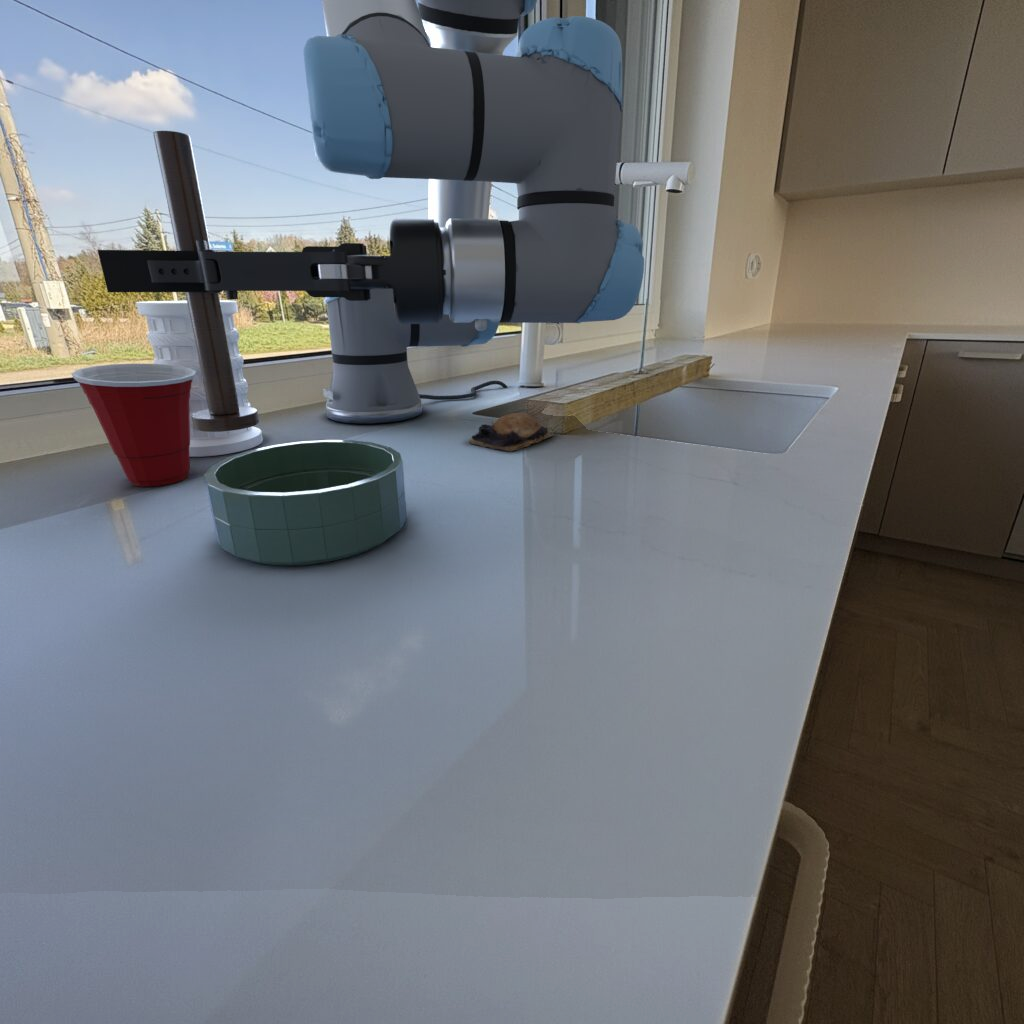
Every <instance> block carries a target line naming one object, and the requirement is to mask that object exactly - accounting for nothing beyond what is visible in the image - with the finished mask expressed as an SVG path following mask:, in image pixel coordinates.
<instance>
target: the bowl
mask: <svg viewBox="0 0 1024 1024" xmlns="http://www.w3.org/2000/svg"><path fill="white" fill-rule="evenodd" d="M403 463H404V461H403V458H402V455H401V453H400V452H398V451H397V450H395V449H394V448H392V447H390V446H387V445H383V444H379V443H376V442H370V441H360V440H353V439H352V440H351V439H323V440H321V439H320V440H302V441H295V442H294V441H293V442H287V443H279V444H274V445H268V446H263V447H259V448H253V449H248V450H245V451H242V452H241V453H237V454H234V455H231V456H228V457H225V458H224V459H222V460H219V461H218V462H216V463H214V464H213V465H210V467H208V469H207V471H206V472H205V473H204V474H203V481H204V484H205V491H206V495H207V500H208V504H209V509H210V513H211V518H212V522H213V527H214V531H215V536H216V540H217V542H218V544H219V547H220V548H221V549H222V550H223V551H225V552H227V553H229V554H231V555H232V556H234V557H237V558H240V559H244V560H247V561H250V562H253V563H257V564H263V565H272V566H305V565H306V566H307V565H315V564H316V565H317V564H322V563H328V562H334V561H338V560H343V559H346V558H350V557H353V556H357V555H359V554H362V553H365V552H368V551H369V550H372V549H374V548H375V547H378V546H379V545H381V544H383V543H384V542H386V541H387V540H388V539H390V538H391V537H392V536H394V535H395V534H396V533H398V532H399V531H401V530H402V528H403V526H404V524H405V522H406V521H407V520H408V519H407V516H408V515H407V503H406V502H407V501H406V491H405V476H404V464H403Z"/></svg>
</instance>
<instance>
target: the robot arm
mask: <svg viewBox="0 0 1024 1024" xmlns="http://www.w3.org/2000/svg"><path fill="white" fill-rule="evenodd" d="M537 3H538V0H417V1H416V0H321V7H322V12H323V19H324V25H325V26H324V27H325V32H326V35H315V36H313V37H309V38H308V39H307V40H306V42H305V44H304V47H303V61H304V62H303V63H304V70H305V80H306V88H307V89H306V90H307V97H308V99H307V100H308V107H309V116H310V117H309V118H310V126H311V135H312V141H313V150H314V155H315V158H316V160H317V162H318V163H319V165H320V166H322V168H324V169H325V170H326V171H329V172H331V173H337V174H345V175H354V176H362V177H365V178H368V179H370V180H381V179H383V178H389V179H415V180H428V213H427V214H428V216H427V217H428V218H405V217H404V218H393V219H392V220H391V221H390V223H389V225H388V236H389V238H388V239H389V254H390V255H381V254H380V255H375V254H374V255H373V254H368V251H367V245H365V244H364V243H361V242H343V243H341V244H339V245H338V246H325V245H323V246H321V245H315V246H314V245H307V246H304V247H303V248H302V250H301V251H215V250H213V249H211V248H210V249H208V244H207V241H204V240H196V246H197V251H177V250H167V249H166V250H165V249H163V250H162V249H161V250H159V249H157V250H153V249H152V250H151V249H150V250H149V249H138V250H137V249H97V250H96V251H97V254H98V255H97V256H98V259H99V261H100V266H101V270H102V274H103V278H104V282H105V286H106V290H107V293H185V292H212V293H219V294H221V293H222V292H225V298H226V301H234V300H239V295H238V292H306V294H307V295H308V296H310V298H324V300H323V301H324V304H326V310H327V319H328V320H327V321H328V329H329V340H330V349H331V358H332V373H331V378H330V383H329V388H328V390H327V389H325V388H323V389H322V391H323V397H324V398H327V399H326V403H325V409H326V416H327V418H328V419H329V420H331V421H335V422H338V423H339V422H340V423H345V424H346V423H347V424H384V423H393V422H399V421H400V422H401V421H405V420H410V419H413V418H416V417H418V416H419V415H421V414H422V412H423V408H422V407H423V406H422V405H423V404H422V399H424V400H433V401H444V400H445V401H446V400H447V401H449V400H463V399H470V398H474V397H475V396H477V393H478V392H477V391H478V390H481V389H483V388H486V387H488V386H492V385H498V386H501V387H502V388H503V389H508V387H509V386H508V385H507V384H506V383H504V382H503V381H500V380H490V381H486V382H483V383H481V384H478V385H475V386H473V387H471V388H470V392H471V393H470V392H469V393H464V394H463V393H462V394H454V395H453V394H452V395H432V394H422V393H420V394H419V391H418V389H417V386H416V383H415V380H414V378H413V375H412V372H411V370H410V368H409V363H408V348H418V347H420V348H421V347H422V348H423V347H425V348H426V347H455V346H456V347H457V346H458V347H459V346H460V347H462V348H463V347H466V348H467V347H469V346H477V345H483V344H484V345H485V344H486V343H488V342H489V341H491V340H492V339H493V338H494V337H495V335H496V333H497V331H498V329H499V326H500V323H505V324H506V323H508V324H509V323H511V324H512V323H514V324H515V323H517V324H524V323H525V324H530V323H531V324H582V323H590V322H605V321H606V322H607V321H616V320H619V319H621V318H624V317H625V316H626V315H628V313H630V312H631V311H632V309H633V308H634V306H635V304H636V302H637V300H638V298H639V296H640V292H641V288H642V284H643V279H644V271H645V257H644V256H643V249H644V242H643V238H642V235H641V233H640V231H639V229H638V227H636V226H635V224H633V223H630V222H623V221H622V220H621V219H616V207H615V188H616V176H617V164H618V156H619V155H618V154H619V153H618V152H619V143H620V134H621V133H620V130H621V121H622V115H623V114H622V113H623V105H624V103H623V50H622V49H623V48H622V43H621V40H620V38H619V37H620V36H618V34H617V32H616V31H615V30H614V29H613V28H612V27H611V26H610V25H608V24H607V23H606V22H603V21H602V20H599V19H595V18H592V17H588V16H581V15H571V16H569V17H563V18H562V17H558V16H553V17H549V18H545V19H541V20H539V21H537V22H535V23H533V24H531V25H529V26H528V27H527V28H526V29H525V30H524V31H523V32H522V34H521V35H520V37H519V40H518V45H517V52H516V54H515V56H514V55H506V54H505V55H504V52H505V50H506V48H508V46H509V45H510V44H511V43H512V42H513V41H514V40H515V39H516V38H517V36H518V33H519V24H520V23H519V21H520V16H522V17H525V16H527V15H529V14H531V13H532V12H533V11H534V9H535V8H536V5H537ZM492 183H503V184H504V183H506V184H516V190H517V199H516V209H517V211H518V220H510V221H509V220H501V219H498V218H497V219H496V218H489V215H490V204H491V203H490V202H491V191H492Z"/></svg>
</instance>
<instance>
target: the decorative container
mask: <svg viewBox="0 0 1024 1024" xmlns="http://www.w3.org/2000/svg"><path fill="white" fill-rule="evenodd" d="M135 303H136V308H137V314H138V315H140V316H143V317H145V319H146V324H147V328H148V331H147V336H146V338H147V341H148V342H149V345H151V346H152V349H153V354H154V358H153V364H164V365H176V366H181V367H186V368H190V369H192V370H194V371H196V375H195V377H194V379H193V380H192V383H191V390H190V399H189V411H190V446H189V455H190V457H192V458H193V457H194V458H195V457H196V458H198V457H200V458H201V457H213V456H223V455H230V454H234V453H239V452H244V451H248V450H251V449H254V448H255V447H257V446H259V445H260V444H263V441H264V438H263V431H262V430H261V429H260V428H259V427H256V426H252V427H249V428H245V429H239V430H233V431H222V432H206V431H199V430H196V429H194V427H193V422H192V417H191V415H192V414H193V413H196V412H198V411H202V410H206V409H209V408H208V403H207V398H206V393H205V388H204V384H203V379H202V374H201V369H200V364H199V359H198V354H197V349H196V344H195V339H194V334H193V329H192V324H191V319H190V314H189V309H188V304H187V300H152V301H151V300H149V301H136V302H135ZM220 304H221V310H222V316H223V321H224V327H225V332H226V338H227V343H228V349H229V354H230V360H231V365H232V371H233V376H234V382H235V388H236V393H237V399H238V404H239V407H251V408H253V407H252V406H251V403H250V402H249V399H248V394H247V392H248V391H249V385H248V384H249V383H248V381H247V380H246V379H245V376H244V371H243V367H244V361H245V360H244V357H243V355H242V354H241V353H240V349H239V343H238V342H240V332H239V330H238V329H237V328H236V326H235V325H236V324H235V320H234V315H235V314H237V313H238V312H239V307H238V302H237V301H236V300H225V299H224V300H223V299H220Z"/></svg>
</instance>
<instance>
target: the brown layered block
mask: <svg viewBox="0 0 1024 1024" xmlns="http://www.w3.org/2000/svg"><path fill="white" fill-rule="evenodd" d="M553 436H554V431H553V430H551V429H549V428H548V427H545V426H543V425H542V424H541V423H540V421H538V420H537V419H536V418H535V417H532V416H531V415H530V414H527V413H524V412H512V413H509V414H504V415H502V416H500V417H497V419H495V420H494V421H492V422H491V425H490V424H486V423H483V424H481V425H480V426H479V427H478V432H477V433H476V434H474V435H472V436H471V438H470V439H468V442H469V444H471V445H477V446H480V447H483V448H486V447H488V448H490V449H492V450H496V449H497V450H501V451H506V452H510V453H511V452H513V451H517V450H518V451H519V450H521V449H524V448H525V447H527V448H528V447H529V446H531V444H537V443H540V442H542V441H543V440H547V439H548V438H551V437H553Z"/></svg>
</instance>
